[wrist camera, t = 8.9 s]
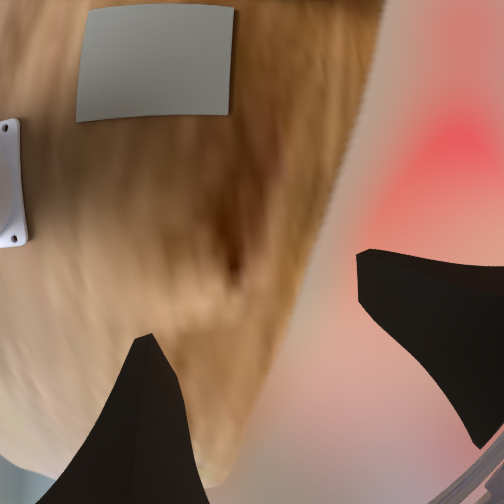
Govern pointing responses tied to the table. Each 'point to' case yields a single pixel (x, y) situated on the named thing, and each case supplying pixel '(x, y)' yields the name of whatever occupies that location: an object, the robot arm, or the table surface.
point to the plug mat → (155, 61)
